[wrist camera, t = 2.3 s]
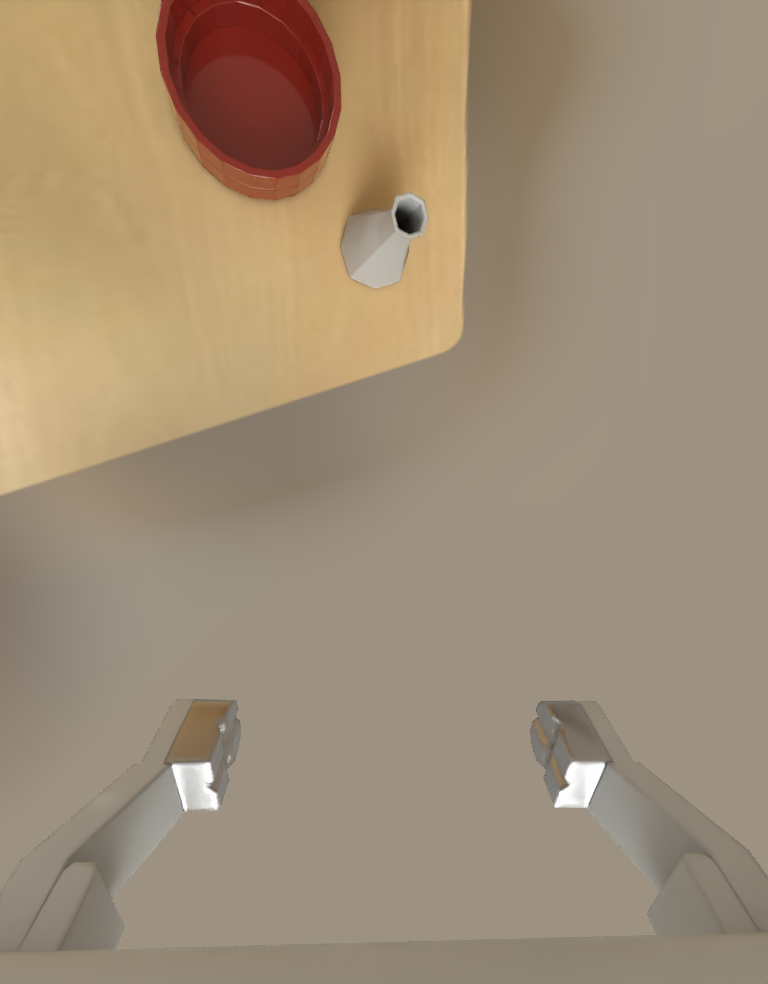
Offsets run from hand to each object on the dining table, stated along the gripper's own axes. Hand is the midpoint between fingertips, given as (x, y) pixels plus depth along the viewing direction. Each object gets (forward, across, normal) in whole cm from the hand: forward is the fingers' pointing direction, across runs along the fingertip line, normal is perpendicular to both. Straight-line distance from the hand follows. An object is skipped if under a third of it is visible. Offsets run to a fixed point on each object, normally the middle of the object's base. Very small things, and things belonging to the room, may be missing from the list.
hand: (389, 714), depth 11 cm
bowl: (+38, +12, -26) cm, 47 cm away
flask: (+40, +1, -16) cm, 43 cm away
